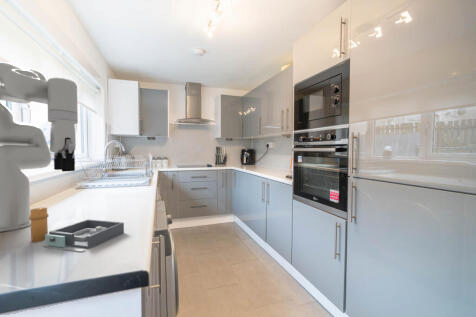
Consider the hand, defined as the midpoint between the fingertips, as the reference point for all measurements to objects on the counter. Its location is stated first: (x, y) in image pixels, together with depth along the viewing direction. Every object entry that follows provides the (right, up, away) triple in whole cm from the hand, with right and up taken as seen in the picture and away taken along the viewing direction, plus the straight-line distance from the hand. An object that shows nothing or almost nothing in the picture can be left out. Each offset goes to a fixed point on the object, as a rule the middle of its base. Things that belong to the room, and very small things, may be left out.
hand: (64, 170), depth 70 cm
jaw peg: (-8, -23, 0) cm, 24 cm away
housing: (+7, -22, 0) cm, 24 cm away
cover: (+2, -22, -7) cm, 23 cm away
